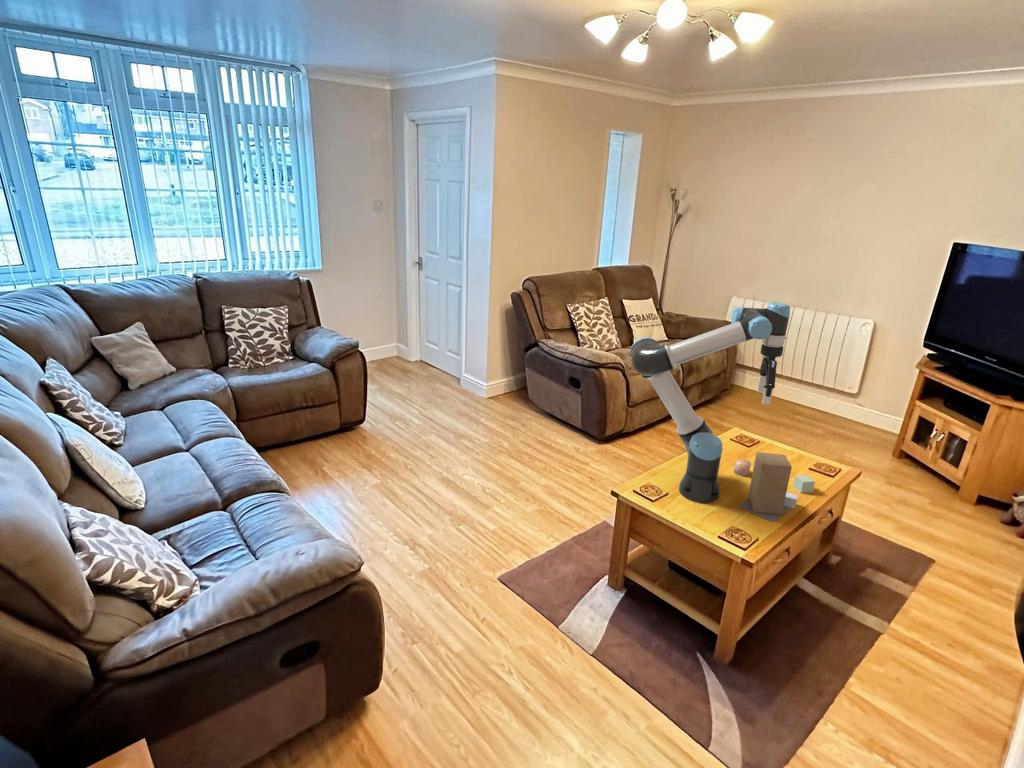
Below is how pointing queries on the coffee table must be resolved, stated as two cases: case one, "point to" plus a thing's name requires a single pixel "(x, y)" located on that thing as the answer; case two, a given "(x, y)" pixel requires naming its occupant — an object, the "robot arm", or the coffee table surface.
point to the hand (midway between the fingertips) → (763, 397)
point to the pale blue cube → (790, 500)
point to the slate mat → (771, 517)
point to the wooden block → (769, 483)
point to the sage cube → (804, 484)
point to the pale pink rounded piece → (742, 467)
